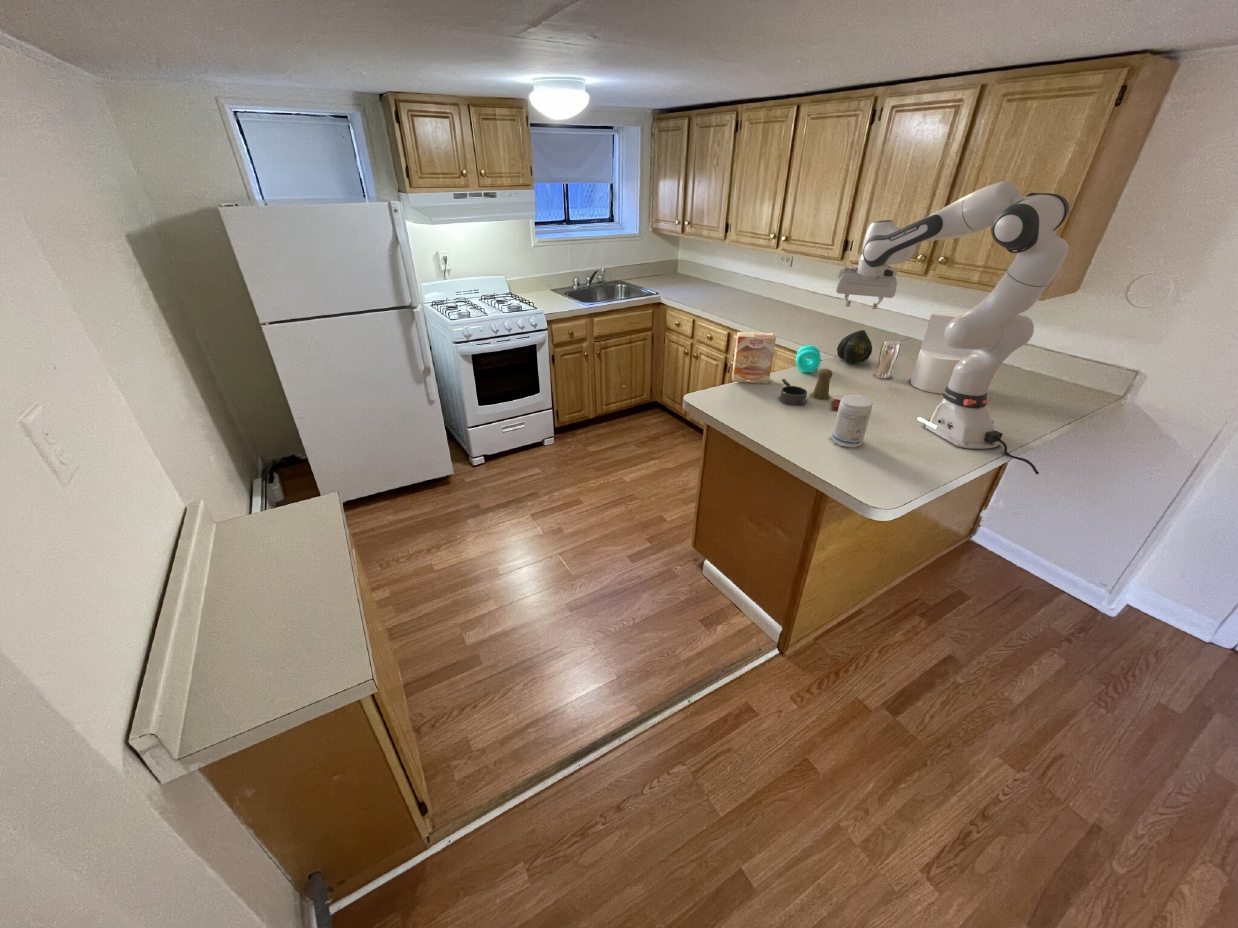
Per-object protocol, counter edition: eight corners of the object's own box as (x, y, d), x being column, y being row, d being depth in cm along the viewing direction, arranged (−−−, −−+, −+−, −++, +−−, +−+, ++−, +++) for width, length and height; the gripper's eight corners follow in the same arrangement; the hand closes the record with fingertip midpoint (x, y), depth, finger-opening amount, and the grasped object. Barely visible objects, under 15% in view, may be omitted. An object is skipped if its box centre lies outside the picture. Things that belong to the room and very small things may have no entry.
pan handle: (791, 389, 199) (791, 385, 199) (787, 389, 199) (788, 385, 199) (784, 381, 206) (785, 378, 205) (781, 381, 206) (781, 378, 205)
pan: (808, 405, 193) (810, 395, 191) (784, 405, 192) (786, 395, 190) (800, 395, 201) (802, 385, 199) (776, 395, 200) (778, 386, 198)
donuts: (794, 372, 223) (798, 350, 218) (794, 364, 231) (798, 343, 226) (818, 374, 220) (822, 352, 215) (817, 367, 228) (822, 345, 223)
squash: (831, 352, 229) (861, 329, 221) (830, 344, 241) (859, 322, 233) (852, 375, 230) (882, 353, 222) (850, 365, 243) (878, 344, 235)
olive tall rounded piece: (818, 400, 197) (823, 373, 191) (809, 394, 202) (814, 367, 196) (831, 398, 198) (837, 371, 192) (822, 392, 203) (828, 366, 197)
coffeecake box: (732, 382, 213) (738, 336, 203) (731, 376, 219) (736, 331, 209) (769, 384, 211) (776, 337, 201) (767, 377, 217) (774, 332, 207)
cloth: (833, 402, 195) (834, 398, 194) (852, 405, 193) (853, 401, 192) (832, 410, 189) (833, 406, 188) (852, 413, 186) (853, 409, 186)
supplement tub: (838, 432, 173) (848, 392, 166) (866, 441, 168) (878, 399, 160) (826, 441, 167) (836, 400, 160) (855, 451, 162) (866, 409, 154)
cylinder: (912, 375, 220) (932, 309, 205) (958, 382, 212) (982, 315, 198) (908, 388, 207) (930, 319, 192) (957, 397, 199) (983, 325, 185)
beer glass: (893, 380, 215) (903, 345, 207) (875, 378, 216) (885, 344, 208) (889, 374, 221) (899, 340, 213) (872, 373, 222) (881, 339, 214)
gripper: (839, 268, 185) (831, 306, 192) (901, 272, 179) (890, 312, 186) (840, 265, 190) (832, 302, 197) (900, 269, 184) (889, 308, 191)
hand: (860, 307), depth 192 cm, fingers open, 8 cm apart
